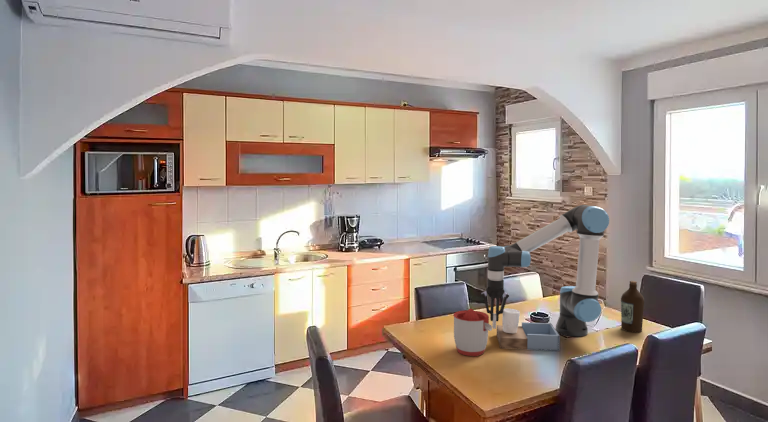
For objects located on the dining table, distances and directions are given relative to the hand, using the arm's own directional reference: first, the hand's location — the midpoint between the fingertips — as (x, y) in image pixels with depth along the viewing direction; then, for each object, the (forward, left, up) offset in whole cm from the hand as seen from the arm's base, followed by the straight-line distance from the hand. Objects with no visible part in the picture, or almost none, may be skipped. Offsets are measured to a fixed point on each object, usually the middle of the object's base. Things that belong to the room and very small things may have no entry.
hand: (494, 327), depth 226 cm
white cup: (-7, 0, -2) cm, 7 cm away
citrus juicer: (+11, +15, -7) cm, 20 cm away
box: (-21, 0, -7) cm, 22 cm away
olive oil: (-71, -26, -7) cm, 76 cm away
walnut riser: (-8, 0, -7) cm, 11 cm away
